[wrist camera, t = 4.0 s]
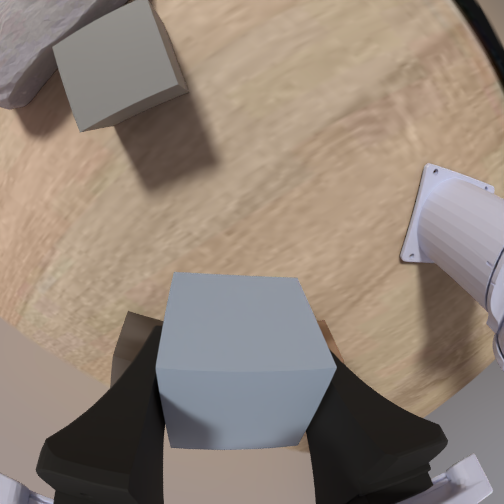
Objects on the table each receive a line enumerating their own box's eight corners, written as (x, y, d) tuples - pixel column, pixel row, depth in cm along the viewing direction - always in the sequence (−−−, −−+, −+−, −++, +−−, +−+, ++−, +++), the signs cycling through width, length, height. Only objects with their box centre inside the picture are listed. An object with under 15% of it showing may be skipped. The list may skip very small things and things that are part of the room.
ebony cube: (188, 327, 23) (185, 375, 18) (175, 366, 25) (171, 411, 20) (128, 310, 21) (112, 355, 17) (121, 352, 23) (109, 395, 19)
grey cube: (163, 23, 13) (146, -5, 9) (188, 92, 15) (178, 84, 11) (90, 59, 13) (52, 47, 9) (113, 125, 15) (79, 132, 11)
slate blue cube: (297, 277, 12) (336, 367, 8) (277, 361, 14) (297, 445, 10) (173, 271, 12) (155, 367, 7) (177, 359, 14) (170, 447, 9)
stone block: (-9, 53, 12) (28, 121, 14) (-46, 43, 7) (-20, 117, 9) (96, -53, 10) (159, -8, 12) (71, -82, 5) (137, -48, 7)
